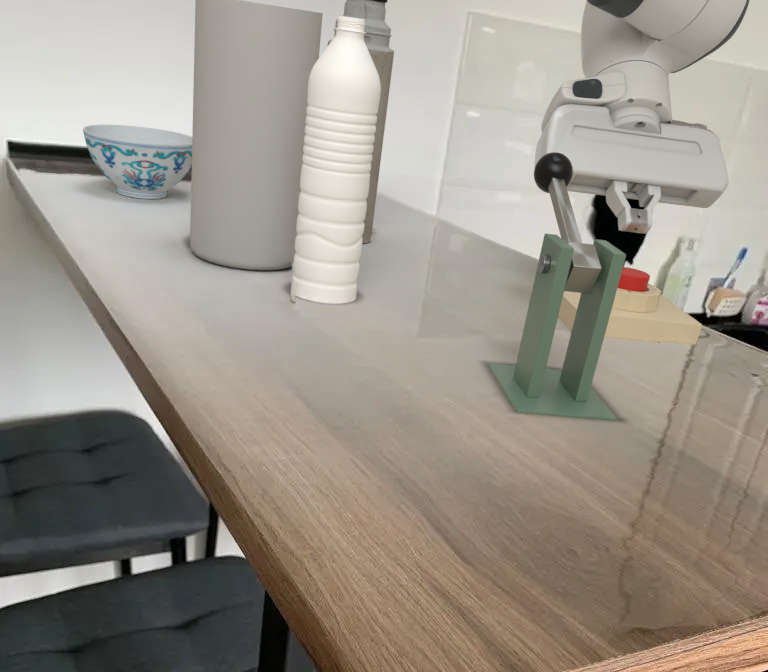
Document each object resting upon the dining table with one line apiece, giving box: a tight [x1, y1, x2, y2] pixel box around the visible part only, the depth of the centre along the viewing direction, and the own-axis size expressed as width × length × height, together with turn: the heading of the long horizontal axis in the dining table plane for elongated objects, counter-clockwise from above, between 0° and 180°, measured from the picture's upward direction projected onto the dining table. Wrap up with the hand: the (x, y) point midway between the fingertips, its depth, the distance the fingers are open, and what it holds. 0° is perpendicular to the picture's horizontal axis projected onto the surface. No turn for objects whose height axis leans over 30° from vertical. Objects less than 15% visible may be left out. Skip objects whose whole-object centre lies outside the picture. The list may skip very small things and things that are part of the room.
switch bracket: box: [487, 233, 627, 421], centre depth 67 cm, size 10×8×13 cm
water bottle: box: [290, 15, 381, 305], centre depth 81 cm, size 9×6×25 cm
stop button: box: [618, 266, 651, 292], centre depth 89 cm, size 4×4×2 cm
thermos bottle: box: [327, 0, 395, 245], centre depth 107 cm, size 8×8×28 cm
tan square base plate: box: [558, 283, 703, 346], centre depth 90 cm, size 13×11×5 cm
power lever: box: [533, 152, 602, 294], centre depth 68 cm, size 15×3×3 cm, turn 7°
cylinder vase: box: [189, 0, 324, 271], centre depth 92 cm, size 12×12×25 cm
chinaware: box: [82, 124, 192, 200], centre depth 118 cm, size 15×15×8 cm
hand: (635, 229), depth 88 cm, fingers closed
